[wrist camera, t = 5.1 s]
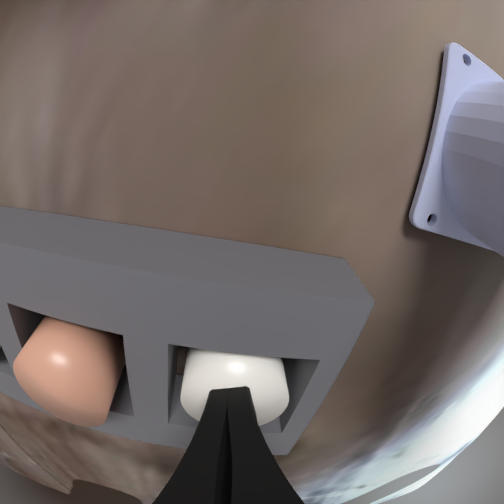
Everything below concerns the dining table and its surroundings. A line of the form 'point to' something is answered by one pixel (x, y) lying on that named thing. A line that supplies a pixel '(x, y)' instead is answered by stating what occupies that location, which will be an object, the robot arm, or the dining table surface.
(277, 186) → the dining table surface
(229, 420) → the robot arm
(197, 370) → the cream button
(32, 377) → the terracotta button
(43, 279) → the button panel
